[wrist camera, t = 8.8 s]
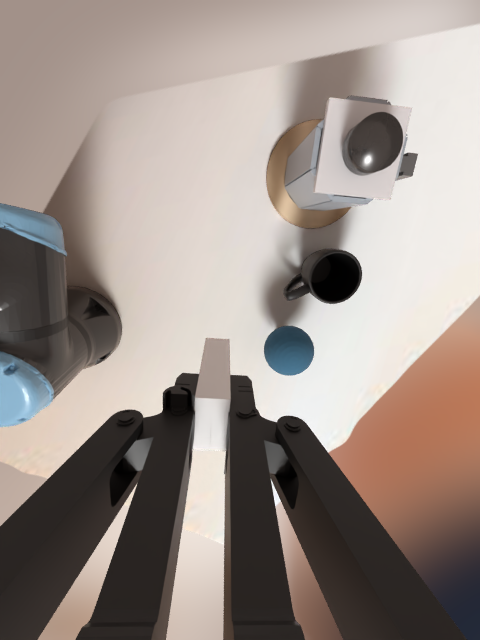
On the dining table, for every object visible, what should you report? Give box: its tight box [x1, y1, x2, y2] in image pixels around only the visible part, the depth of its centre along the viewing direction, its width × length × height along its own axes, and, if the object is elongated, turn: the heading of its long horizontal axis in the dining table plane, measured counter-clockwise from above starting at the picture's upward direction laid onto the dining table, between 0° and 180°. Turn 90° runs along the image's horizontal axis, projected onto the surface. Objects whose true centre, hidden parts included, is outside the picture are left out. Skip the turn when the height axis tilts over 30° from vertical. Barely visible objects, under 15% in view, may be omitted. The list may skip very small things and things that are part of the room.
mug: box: [283, 249, 362, 304], centre depth 47 cm, size 8×12×10 cm
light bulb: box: [264, 326, 314, 375], centre depth 49 cm, size 8×8×12 cm
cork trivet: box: [266, 119, 351, 228], centre depth 46 cm, size 16×16×1 cm
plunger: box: [316, 112, 403, 196], centre depth 33 cm, size 8×8×12 cm
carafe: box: [284, 96, 418, 211], centre depth 38 cm, size 13×10×17 cm
